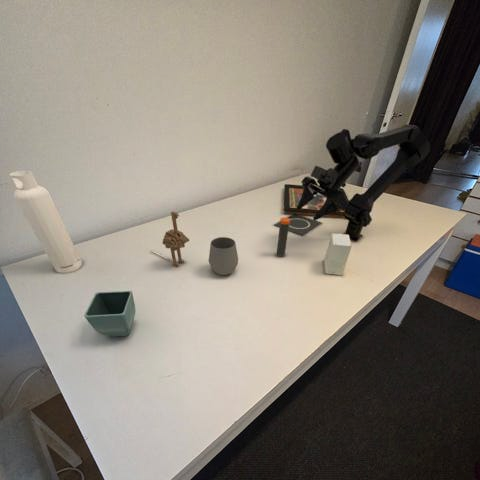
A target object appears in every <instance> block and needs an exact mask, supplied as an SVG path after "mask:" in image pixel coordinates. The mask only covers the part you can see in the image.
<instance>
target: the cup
mask: <svg viewBox="0 0 480 480" xmlns="http://www.w3.org/2000/svg"><path fill="white" fill-rule="evenodd" d="M209 246H210V247H209V253H208V263H209V265H210V267H211V269H212V270H213V272H214V273H215V274H217V275H219V276H228V275H230V274H232V273H233V272H234V271H235V269H236V268H237V266H238V264H239V255H238V251H237V249H238V248H237V244H236V241H235V239H233V238H230V237H227V236H220V237H216V238H213V239H212V240H211V241H210V245H209Z"/></svg>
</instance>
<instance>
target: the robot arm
mask: <svg viewBox="0 0 480 480" xmlns="http://www.w3.org/2000/svg"><path fill="white" fill-rule="evenodd" d="M397 145H398V148H399V149H398V150H397V152H396V157H395V160H393V162H392V163H391V164H390V165H389V166H388V167H387V168H386V169H385V170H384V171H383V172H382V173H381V175H379V176H378V178H377V179H376V180H374V182H373V183H372V184H371V185H370V186H369V187H368V188H367V189H366V190H365V191H364V193H361V194H360V193H355V194H353V196H352V198H350V199H348V200H349V201H348V200H347V198H348V197H347V198H346V196H345V194H344V193H343V192H340V191H338V190H339V188H345V187H346V186H347V184H346V182H347V180H349V178H350V177H351V176H352V175H353V174H354V173H355V172H357V173H362V165H363V162H362V161H359V158H361V159H363V160H371V159H372V158H374V157H376V156H377V155H379V153H380V152H381V151H383V150H384V149H388V148H391V147H395V146H397ZM325 148H326V151H327V152H328V154H329V156H330V158H331V160H332V162H333V163H334V164H335V165H334V167H333V168H332V167H328V169H325V168H323V167H320V166H318V165H314V168H313V170H312V172H311V173H310V175H309V176H308V175H307V176H305V177H304V178H303V179H302V180H301V182H300V183H301V185H302V187H303V194H302V197H301V199H300V201H299V204H298V206H297V209H298V210H300V209H301V208H302V207H304V206H305V205H306V204H307V203H308V202H310V201H311V200H312V199H313V198H314V196H313V195H316V194H317V193H319V194H321V195H323V196H325V197H327V198H326V201H325V204H324V205H323V206H322V207H321V209H320V210H319V211H318V212H317V213H316V215H313V217H312V220H315V221H318V220H320V219H322V218H324V217H327V216H326V215H328V214H331V213H334V212H336V211H338V212H339V211H340V210H342V211H344V210H345V212H344V213H345V217H344V218H343V219H344V220H347V224H346V228H345V231H344V233H342V234H346V235H349V238H350V241H352V242H358V241H359V240H360V239H361V238H363V234H361V233H362V232H363V231H362V230H363V228H364V227H365V228H367V227H368V226H369V225H370V224H371V222H372V220H373V219H372V216H371V214H370V213H371V212H372V211H373V207H374V203H376V202H377V200H378V199H379V198H380V197H381V196H382V195H383V194H384V193H385V192H386V191H387V190H388V189H389V188H390V187H391V186H392V185H393V184H394V182H395V181H396V180H397V179H398V178H399V177H400V176H401V175H402V174H403V173H405V171H406V170H407V169H410V168H413V167H415V166H417V165H418V164H419V163H420V162H422V161H423V160H424V159H425V158H426V157H427V156H428V155H429V153H430V150H431V146H430V141H429V140H428V138H427V137H426V136H425V135H424V134H423V133H422V132H421V129H420V128H419V126H418V125H414V124H408V123H407V124H403V125H402V126H399V127H396V128H393V129H389V130H386V131H383V132H380V133H358V134H357V135H355V136H354V138H352V136H351V132H350V130H349V129H346V128H343V129H341V131H339V132H337V133H334V134H333V135H332V136H330V137H329V138H328V139H327V141H326V143H325ZM322 191H323V192H322ZM339 209H340V210H339Z"/></svg>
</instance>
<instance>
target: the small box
mask: <svg viewBox="0 0 480 480" xmlns="http://www.w3.org/2000/svg"><path fill="white" fill-rule="evenodd" d="M351 250H352V243H351V240H350V238H349V235H346V234H343V233H337V232H336V233H334V232H331V233H330V237H329V241H328V244H327V249H326V252H325V256H324V259H323V264H324V266H323V267H324V274H327V275H328V274H329V275H338V276H342V275H343V273H344V270H345V267H346V264H347V262H348V258H349V256H350V252H351Z"/></svg>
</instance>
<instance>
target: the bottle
mask: <svg viewBox="0 0 480 480" xmlns="http://www.w3.org/2000/svg"><path fill="white" fill-rule="evenodd" d="M9 176H10V178H11V179H12V181H13V183H14V185H15V187H16V189H15V190H14V193H13V198H14V200H15V202H16V204H17V205H18V207H19V209H20V210H21V212H22V214H23V216H24V218H25V219H26V221H27V222H28V224H29V226H30V228H31V230H32V231H33V233H34V235H35V237H36V238H37V240H38V242H39V244H40V245H41V247H42V249H43V250H44V252H45V254H46V256H47V258H48V259H49V261H50V263H51V264H52V266H53V268H54V270H55V271H56V272H57V273H59V274H60V273H61V274H68V273H72V272H75V271H77V270H78V269H80V268H81V267H82V266H83V261H82V260H81V257H80V255H79V253H78V251H77V249H76V247H75V244H74V243H73V240H72V238H71V236H70V234H69V232H68V230H67V227H66V226H65V224H64V221H63V220H62V217H61V215H60V213H59V210H58V209H57V207H56V205H55V203H54V201H53V198H52V196H51V194H50V192H49V191H48V189H47V188H45V187H44V186H42V185H39V184H38V183H37V180H36V179H35V177H34V174H33V173H32V171H31V170H25V169H24V170H16V171H13V172H11V173H9Z"/></svg>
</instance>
